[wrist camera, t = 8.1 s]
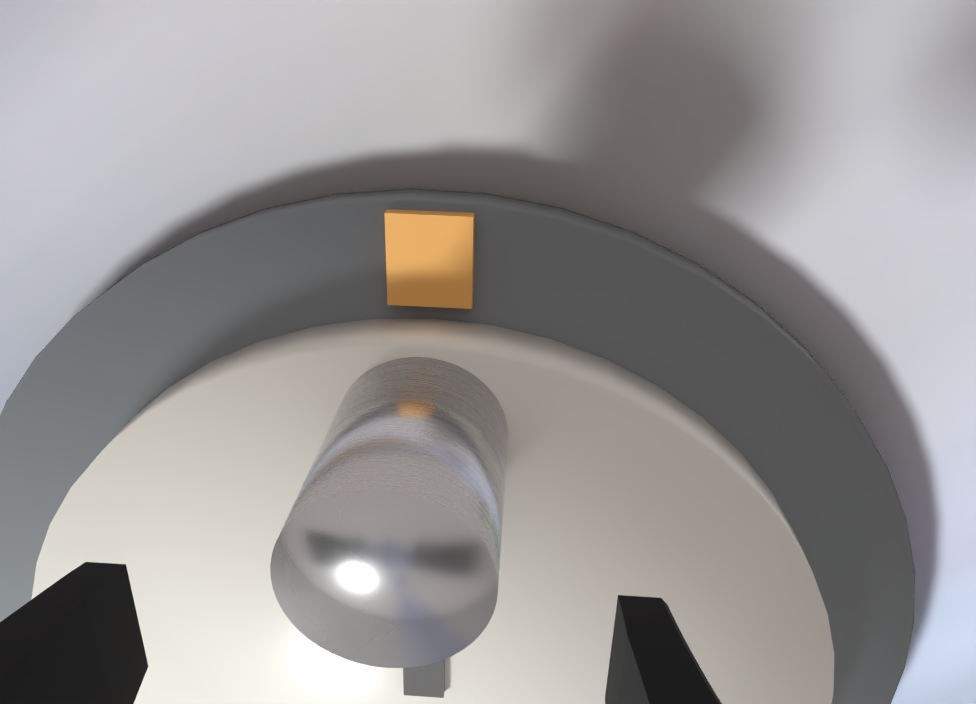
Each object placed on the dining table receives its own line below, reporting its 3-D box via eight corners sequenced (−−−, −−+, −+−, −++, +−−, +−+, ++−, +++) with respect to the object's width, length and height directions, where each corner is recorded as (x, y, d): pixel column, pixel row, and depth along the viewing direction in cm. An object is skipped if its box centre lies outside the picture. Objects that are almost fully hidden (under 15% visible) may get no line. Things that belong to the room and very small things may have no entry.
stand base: (1107, 578, 20) (1142, 615, 19) (518, 973, 30) (517, 1014, 28) (274, -74, 15) (252, -79, 14) (-119, 662, 24) (-153, 697, 23)
